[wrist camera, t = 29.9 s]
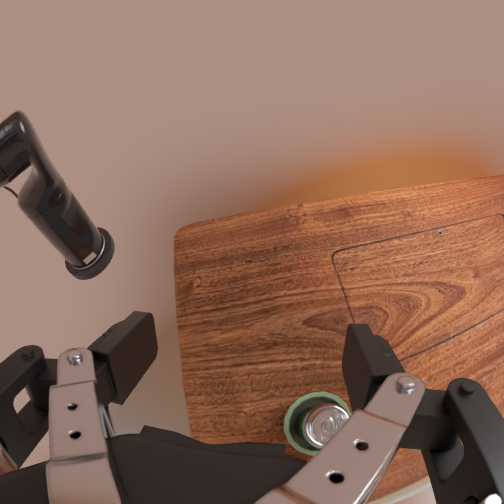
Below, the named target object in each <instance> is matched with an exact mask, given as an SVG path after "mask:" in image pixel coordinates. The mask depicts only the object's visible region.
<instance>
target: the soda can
mask: <svg viewBox="0 0 504 504" xmlns="http://www.w3.org/2000/svg"><path fill="white" fill-rule="evenodd" d="M349 417H350V416H349V414H348V412H347V411H346V410H345V409H344V408H343V407H342V406H340V405H338V404H335V403H330V402H326V403H321V404H318V405H315V406H312V407H308V408H306V409H304V410H302V411H301V412H300V413H299V414H298V415H297V417H296V419H295V423H294V428H295V431H296V433H297V435H298V436H299V437H300V438H301V439H303V440H304V441H305V442H307V443H308V444H310V445H311V446H313V447H315V448H318V449H322V447H323V446H324V445H325V444H326V443H327V442H328V441H329V440H330V439H331V438H332V437H333V436H334V434H335V433H336V432H337V431H338V430H339V429H340V428H341V427H342V425H343V424H344V423H345V422H346V421H347V420H348V418H349Z"/></svg>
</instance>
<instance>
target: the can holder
mask: <svg viewBox="0 0 504 504" xmlns="http://www.w3.org/2000/svg"><path fill="white" fill-rule="evenodd" d="M326 402H330V403H335V404H338V405H340V406H342V407H343V408H344V409H345V410H346V411H347V412H348V414H349V416H351V413H350V410H349V408H348V406H347V404H346V403H345V402H344V401H343V400H341V399H340V398H339V397H338V396H336V395H333V394H330V393H327V392H312V393H309V394H307V395H305V396H302V397H300V398H298V399H297V400H296V401H295V402H294V403H293V404H292V405H291V406H290V407H288V409H287V411H286V413H285V415H284V417H283V424H282V425H283V432H284V434H285V437H286V439H287V441H288V442H289V444H291V445H292V446H293V447H294V448H295V449H296V450H297V451H299V452H301V453H304V454H307V455H311V456H314V455H316V454H317V453H318V452H319V451H320V450H321V449H318V448H315V447H313V446H311V445H310V444H308V443H307V442H305V441H304V440H303V439H301V438H300V437H299V436H298V435H297V433H296V431H295V428H294V423H295V419H296V417H297V415H298V414H299V413H300V412H301V411H302V410H304V409H306V408H308V407H312V406H315V405H318V404H321V403H326Z"/></svg>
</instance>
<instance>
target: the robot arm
mask: <svg viewBox="0 0 504 504" xmlns="http://www.w3.org/2000/svg"><path fill="white" fill-rule="evenodd" d="M29 166H32V169H31V171H30V174H29V176H28V177H27V179H26V181H25V183H24V184H23V186H22V187H21V189H20V192H19V195H17V194H16V193H15V192H14V191H13V190H12V189H10V188H8V187H6V185H8V184H9V183H11V182H12V181H13V180H14V179H15V178H16V177H17V176H19V175H20V174H21V173H22V172H23V171H25V170H26V169H27V168H28V167H29ZM0 188H5V189H7V190H9V191H10V192H12V193H13V194H14V195H15V196H16V197H17V199H18V206H19V208H20V209H21V211H22V212H23V213H24V214H25V215H26V216H27V218H28V219H29V220H30V221H31V222H32V224H33V225H34V226H35V227H36V228H37V229H38V230H39V231H40V232H41V234H42V235H43V236H44V237H45V238H46V239H47V240H48V241H49V242H50V243H51V244H52V246H53V247H55V249H56V250H57V251H58V252H59V253H60V254H61V255H62V256H63V257H64V258H65V259H66V260H67V261H68V262H69V263H70V265H71V266H72V267H73V268H74V269H76V270H86V269H89V268H91V267H92V266H94V265H95V264H96V263H97V262H98V261H99V260H100V259H101V257H102V256H103V254H104V251H105V248H106V240H105V238H104V236H103V235H102V233H101V232H100V231H99V230H98V229H97V227H96V226H95V225H94V223H93V222H92V220H91V219H90V218H89V216H88V215H87V213H86V212H85V211H84V209H83V208H82V206H81V205H80V203H79V202H78V200H77V199H76V198H75V196H74V195H73V193H72V192H71V190H70V189H69V187H68V186H67V184H66V183H65V181H64V180H63V178H62V177H61V175H60V173H59V172H58V170H57V169H56V167H55V166H54V164H53V163H52V161H51V159H50V158H49V156H48V155H47V152H46V150H45V149H44V147H43V145H42V143H41V141H40V139H39V137H38V134H37V132H36V130H35V128H34V126H33V124H32V122H31V121H30V119H29V118H28V116H27V115H26V114H25V113H24V112H23V111H21V110H17V111H14V112H13V113H11V114H10V115H9V116H7V118H5V119H4V120H3V121H1V122H0ZM157 351H158V346H157V338H156V332H155V324H154V318H153V315H152V314H151V313H147V312H139V311H134V312H133V313H132V314H131V315H129V316H128V317H127V318H126V319H125V320H123V321H121V322H119V323H117V324H114V325H113V326H112V327H111V328H109V329H108V330H107V332H105V333H104V334H103V335H102V336H100V337H99V338H98V339H97V340H96V341H95V342H93V343H92V344H91V345H90V346H89V347H88V348H87V349H85V348H72V349H69V350H66V351H64V352H63V353H61V354H60V356H59V357H58V359H46V358H45V356H44V353H43V350H42V348H41V347H39V346H35V345H29V346H24V347H22V348H20V349H18V350H16V351H15V352H14V353H13V354H11V355H10V356H9V357H8V358H6V359H5V360H4V361H3V362H1V363H0V504H364V503H365V502H366V501H367V499H368V498H369V496H370V495H371V493H372V492H373V490H374V489H375V487H376V486H377V484H378V482H379V481H380V479H381V478H382V476H383V475H384V473H385V472H386V470H387V468H388V467H389V465H390V463H391V462H392V460H393V458H394V457H395V455H396V453H397V451H398V450H399V448H409V449H421V451H422V454H423V458H424V461H425V464H426V467H427V471H428V474H429V478H430V481H431V485H432V488H433V492H434V496H435V499H436V503H437V504H504V419H503V417H502V416H501V414H500V413H499V411H498V410H497V408H496V407H495V405H494V404H493V402H492V401H491V399H490V398H489V396H488V395H487V393H486V392H485V390H484V389H483V388H482V386H481V385H480V384H479V383H477V382H476V381H474V380H471V379H467V378H457V379H454V380H452V381H451V382H450V383H449V385H448V388H447V390H446V391H443V390H431V389H425V384H424V382H423V381H422V380H421V379H420V378H419V377H417V376H415V375H413V374H409V373H406V372H405V370H404V369H403V367H402V365H401V363H400V362H399V360H398V358H397V356H395V353H394V351H393V350H392V348H391V346H390V345H389V343H388V341H386V340H385V339H384V338H382V337H381V336H379V335H375V336H374V335H373V333H372V331H371V329H370V328H369V326H368V324H349V325H348V328H347V333H346V340H345V346H344V352H343V358H342V372H343V376H344V380H345V383H346V387H347V391H348V395H349V399H350V403H351V407H352V411H353V414H352V415H351V416H350V417H349V418H348V420H347V421H346V422H345V423H344V424H343V425H342V427H341V428H340V429H339V430H338V431H337V432H336V433H335V434H334V436H333V437H332V438H331V439H330V440H329V441H328V442H327V443H326V444H325V445H324V446H323V447H322V449H321V450H320V451H319V452H318V453H317V454H316V455H315V456H314V457H313V458H312V459H311V460H310V461H309V462H308V461H306V460H303V459H301V458H298V457H295V456H292V455H288V454H285V444H272V443H255V442H243V443H231V444H214V445H211V444H206V443H203V442H200V441H198V440H195V439H192V438H190V437H187V436H185V435H182V434H180V433H177V432H173V431H168V430H164V429H159V428H155V427H150V426H146V425H145V426H144V427H143V429H142V431H141V432H140V434H124V435H118V436H117V435H116V432H115V428H114V424H113V421H112V417H111V413H110V409H109V407H108V404H109V403H110V402H113V403H116V404H120V405H123V403H124V402H125V400H126V399H127V398H128V396H129V395H130V393H131V392H132V390H133V389H134V388H135V386H136V385H137V384H138V382H139V381H140V379H141V378H142V377H143V375H144V374H145V372H146V371H147V370H148V368H149V367H150V365H151V364H152V363H153V361H154V360H155V358H156V356H157ZM24 387H25V388H26V391H27V393H28V395H29V397H30V399H31V400H30V401H29V402H28V403H27V404H26V405H25V406H24V407H23V408H22V409H21V410H20V411H19V412H18V414H17V413H16V411H15V409H14V406H13V401H14V398H15V396H16V395H17V394H18V393H19V392H20V391H21V390H22V389H23V388H24ZM48 430H49V448H50V460H48V461H44V462H41V463H38V464H35V465H32V466H28V467H25V468H21V469H19V468H20V467H21V466H22V464H23V463H24V462H25V460H26V459H27V457H28V456H29V455H30V453H31V452H32V451H33V449H34V448H35V447H36V446H37V444H38V443H39V442H40V440H41V439H42V438H43V436H44V435H45V434H46V433H47V431H48ZM460 439H461V441H462V443H463V446H464V448H463V446H462V444H461V441H460Z"/></svg>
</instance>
